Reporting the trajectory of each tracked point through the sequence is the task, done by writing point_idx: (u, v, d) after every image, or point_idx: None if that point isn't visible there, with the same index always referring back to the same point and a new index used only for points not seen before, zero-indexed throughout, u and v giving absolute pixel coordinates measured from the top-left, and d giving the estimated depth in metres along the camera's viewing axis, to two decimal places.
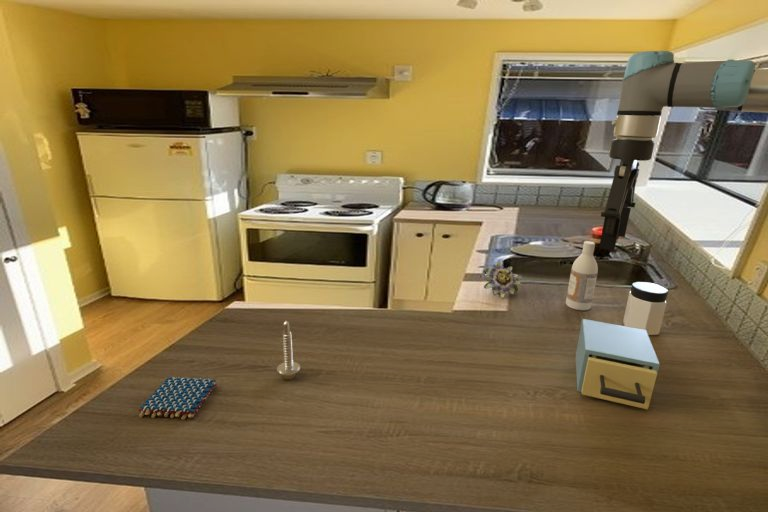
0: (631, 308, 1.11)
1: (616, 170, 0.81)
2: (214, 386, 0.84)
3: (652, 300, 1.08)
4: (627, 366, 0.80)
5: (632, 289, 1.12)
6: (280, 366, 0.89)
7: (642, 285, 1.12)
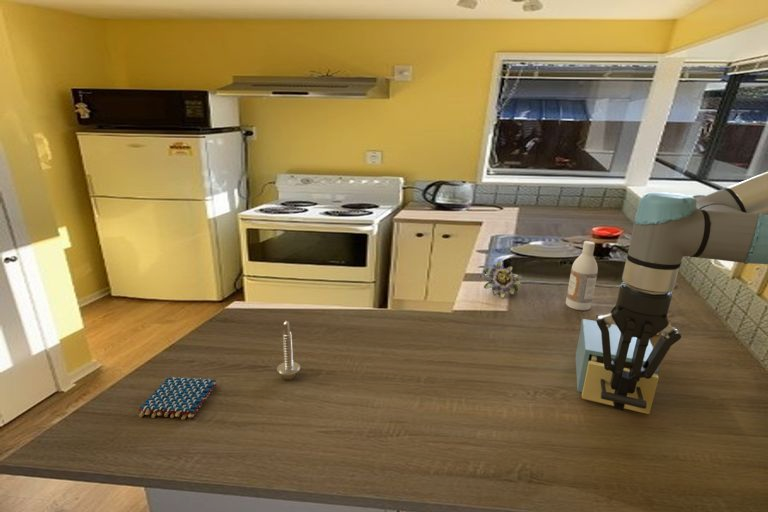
0: None
1: None
2: (214, 386, 0.84)
3: None
4: (628, 370, 0.79)
5: None
6: (280, 366, 0.89)
7: None
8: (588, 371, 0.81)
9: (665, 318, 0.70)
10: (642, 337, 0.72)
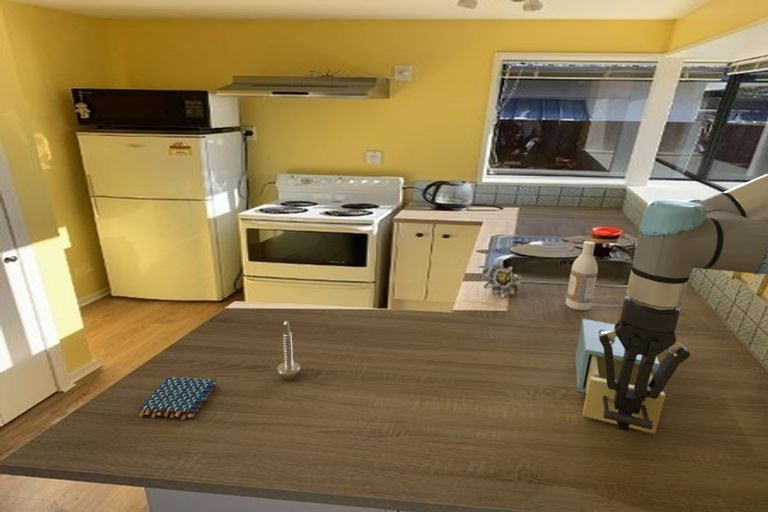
0: None
1: None
2: (214, 386, 0.84)
3: None
4: (632, 387, 0.74)
5: None
6: (280, 366, 0.89)
7: None
8: (590, 387, 0.76)
9: (673, 335, 0.65)
10: (648, 355, 0.67)
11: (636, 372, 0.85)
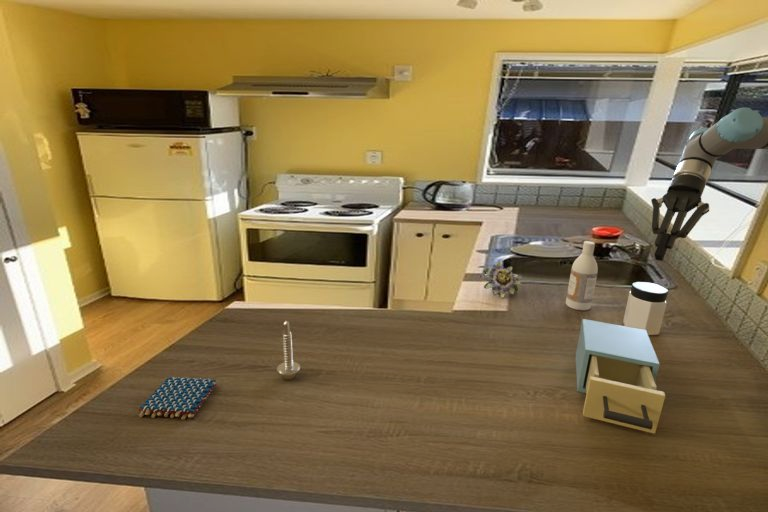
0: (631, 308, 1.11)
1: None
2: (214, 386, 0.84)
3: (652, 300, 1.08)
4: (632, 387, 0.74)
5: (632, 289, 1.12)
6: (280, 366, 0.89)
7: (642, 285, 1.12)
8: (590, 387, 0.76)
9: (699, 195, 1.07)
10: (681, 205, 1.08)
11: (636, 372, 0.85)
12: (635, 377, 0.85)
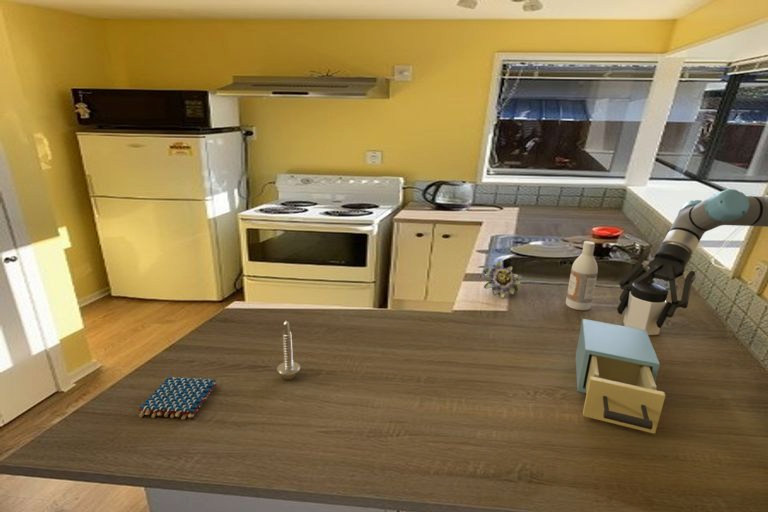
0: (631, 308, 1.11)
1: None
2: (214, 386, 0.84)
3: (652, 300, 1.08)
4: (632, 387, 0.74)
5: (632, 289, 1.12)
6: (280, 366, 0.89)
7: (642, 285, 1.12)
8: (590, 387, 0.76)
9: (682, 266, 1.12)
10: (668, 274, 1.12)
11: (636, 372, 0.85)
12: (635, 377, 0.85)
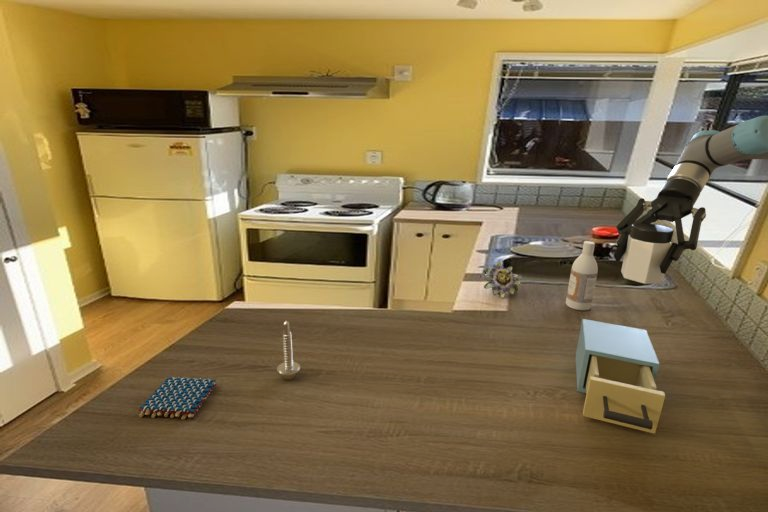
0: (630, 252, 0.95)
1: None
2: (214, 386, 0.84)
3: (655, 240, 0.91)
4: (632, 387, 0.74)
5: (631, 230, 0.96)
6: (280, 366, 0.89)
7: (643, 225, 0.96)
8: (590, 387, 0.76)
9: (690, 202, 0.95)
10: (674, 212, 0.95)
11: (636, 372, 0.85)
12: (635, 377, 0.85)
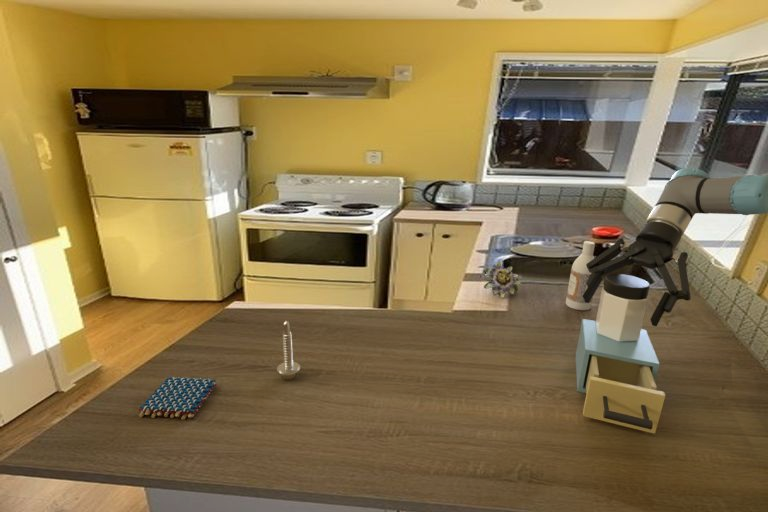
0: (603, 307, 0.88)
1: None
2: (214, 386, 0.84)
3: (629, 297, 0.84)
4: (632, 387, 0.74)
5: (605, 283, 0.88)
6: (280, 366, 0.89)
7: (618, 278, 0.88)
8: (590, 387, 0.76)
9: (670, 249, 0.88)
10: (656, 259, 0.88)
11: (636, 372, 0.85)
12: (635, 377, 0.85)
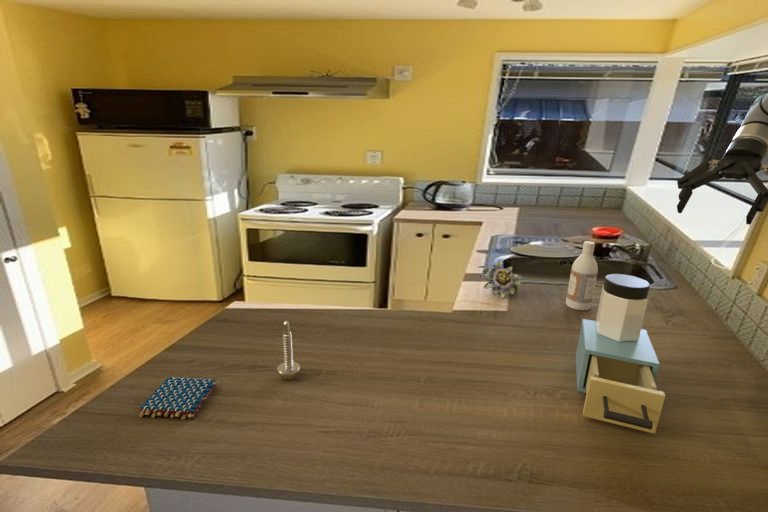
0: (604, 307, 0.88)
1: None
2: (214, 386, 0.84)
3: (629, 297, 0.84)
4: (632, 387, 0.74)
5: (605, 283, 0.88)
6: (280, 366, 0.89)
7: (618, 278, 0.88)
8: (590, 387, 0.76)
9: (759, 160, 0.99)
10: (746, 169, 0.99)
11: (636, 372, 0.85)
12: (635, 377, 0.85)
